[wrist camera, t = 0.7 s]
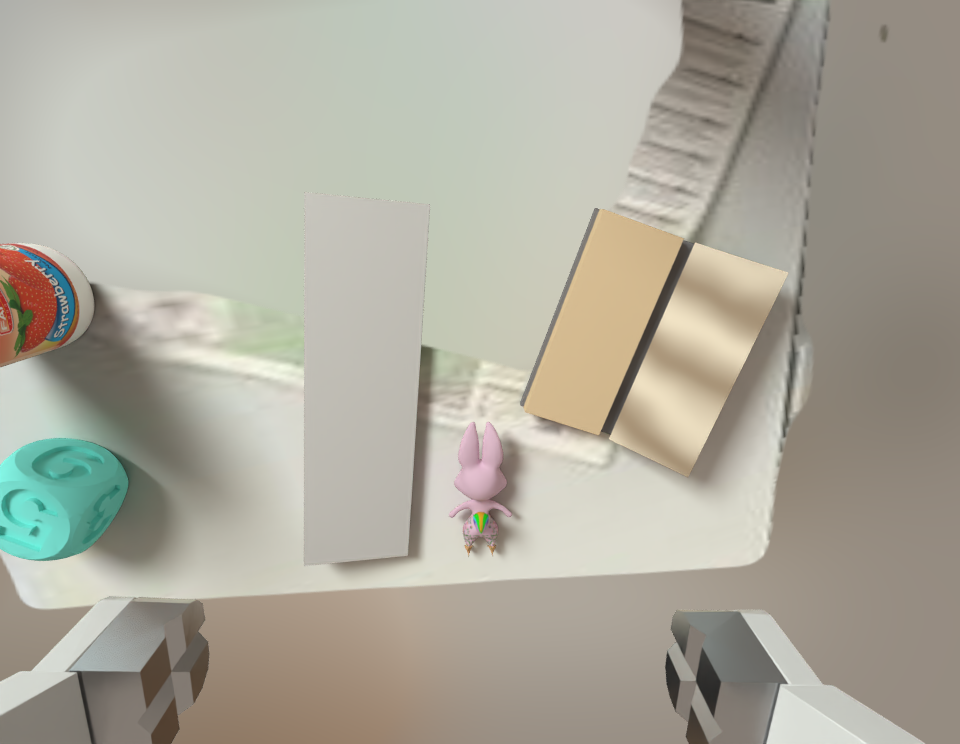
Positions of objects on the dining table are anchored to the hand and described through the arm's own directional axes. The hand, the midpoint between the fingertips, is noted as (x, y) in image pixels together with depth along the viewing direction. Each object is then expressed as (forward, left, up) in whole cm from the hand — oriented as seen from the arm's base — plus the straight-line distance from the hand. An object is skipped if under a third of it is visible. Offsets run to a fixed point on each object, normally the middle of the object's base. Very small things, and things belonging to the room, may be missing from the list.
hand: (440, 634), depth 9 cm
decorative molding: (+11, -6, -42) cm, 44 cm away
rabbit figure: (+17, +7, -42) cm, 46 cm away
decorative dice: (+29, -30, -42) cm, 59 cm away
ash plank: (-1, +21, -39) cm, 44 cm away
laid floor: (-1, +17, -42) cm, 45 cm away
